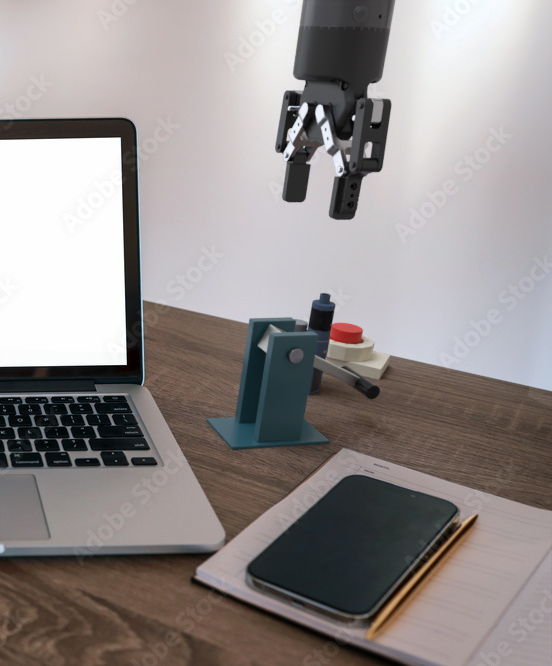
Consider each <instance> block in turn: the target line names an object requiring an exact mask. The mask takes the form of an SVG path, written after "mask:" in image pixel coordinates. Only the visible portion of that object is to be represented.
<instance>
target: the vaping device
mask: <svg viewBox="0 0 552 666" xmlns="http://www.w3.org/2000/svg"><path fill="white" fill-rule="evenodd" d="M331 296H332V295H331V294H330V293H327V292H320V294H319V298H318V299H314V300H312V302H311V308H310V313H309V314H310V315H309V318H308V321H306V320H303V319H297V318H293V319H294V320H296V325H295V331H294V332H315V333H316V334H318V341H317V347H316V353H315V355H316V356H318V357H320V358H322V359H324V360H325V358H326V356H327V352H328V346H329V341H330V332H331V327H332V324H333V320H334V316H335V315H334V314H335V309H336V303H335V302H333V301H331ZM323 374H324V372H323V371H321V370H319V369H317V368H315V367H313V369H312V375H311V381H310V386H309V392H308V396H311V395H312V394H315V393H318V392H320V389H321V385H322V379H323Z"/></svg>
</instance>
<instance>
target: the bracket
mask: <svg viewBox="0 0 552 666" xmlns="http://www.w3.org/2000/svg"><path fill="white" fill-rule="evenodd" d="M294 319H295V318H293V317H292V316H291V317H288V316H287V317H253V318H251V317H250V318H249V319H248V326H247V333H246V339H245V345H244V346H245V347H244V354H243V361H242V366H241V374H240V381H239V388H238V395H237V401H236V402H237V403H236V408H235V415H234V416H227V417H210V418H209V417H208V418H206V419H205V421H206V423H207V424H208V425H209V426H210V427H211V428H212V430H213V431H214V432H215V433H216V434H217V435H218V436H219V438H221V439H222V441H223V442H224V443H225V444H226V445H227V446H228V447H229V448H230V450H231V451H239V450H254V449H269V448H285V447H299V446H315V445H328V444H330V440H329V439H328V438H327V437H326V436H324V434H322V433H321V432H320V431H319V430H318V429H316V428H315V427H314V426H313V425H311V424H310V423H309V422H308V421H307V420H306V419H305V414H306V408H307V403H308V397H309V395H308V392H309V386H310V381H311V375H312V369H313V364H314V358H315V353H316V347H317V341H318V334H316V333H315V332H294V331H295V325H296V320H294ZM270 324H271V325H273V326H275V327H277V328H279V329H281V330H283V331H285V332H279V333H270V334H269V340H268V347H267V353H266V352H264V351H263V350H262V349H260V348H259V347H258V346H257V345H258V344H259V342H260V340H261V339H262V337H263V335H264V334H265V332H266V330H267V329H268V327H269V325H270Z"/></svg>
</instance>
